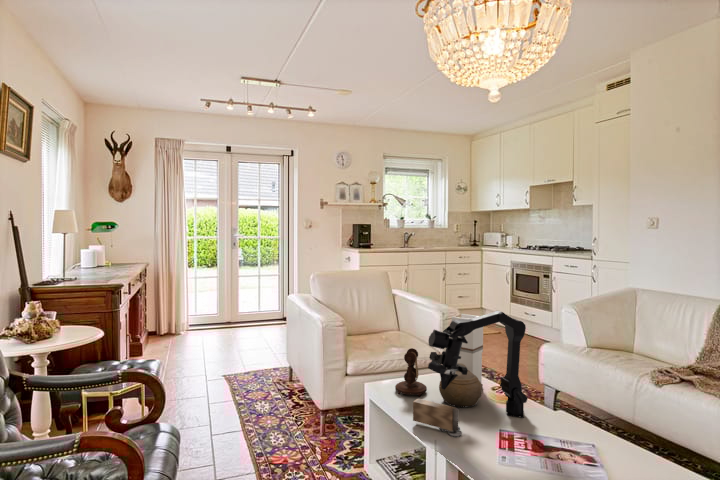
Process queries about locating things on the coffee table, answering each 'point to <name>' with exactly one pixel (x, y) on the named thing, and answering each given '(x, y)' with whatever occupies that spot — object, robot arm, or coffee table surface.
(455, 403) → the brown round pot
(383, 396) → the coffee table surface
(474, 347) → the white square post
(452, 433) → the hinge base
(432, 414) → the block
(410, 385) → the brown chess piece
